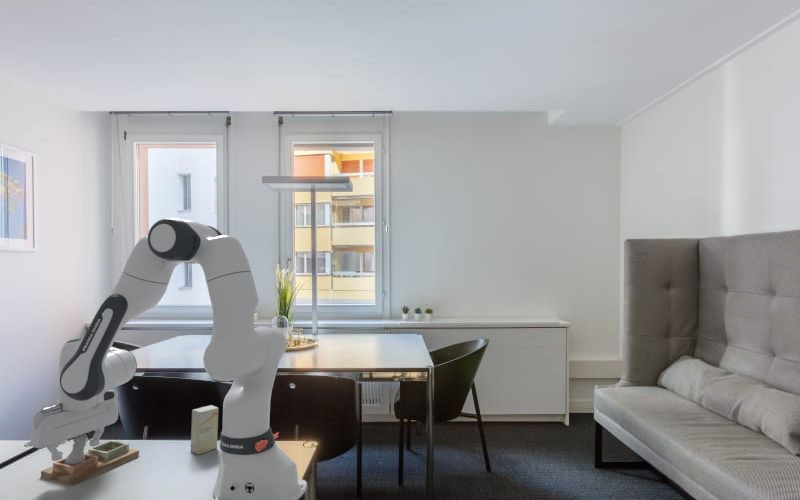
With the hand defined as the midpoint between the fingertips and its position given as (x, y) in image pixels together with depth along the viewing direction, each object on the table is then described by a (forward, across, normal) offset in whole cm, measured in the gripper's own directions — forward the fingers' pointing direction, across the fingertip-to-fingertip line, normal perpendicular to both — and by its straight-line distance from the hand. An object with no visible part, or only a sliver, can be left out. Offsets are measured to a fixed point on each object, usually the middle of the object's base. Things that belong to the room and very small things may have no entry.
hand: (76, 452), depth 113 cm
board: (+5, +4, 0) cm, 7 cm away
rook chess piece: (+3, 0, +1) cm, 3 cm away
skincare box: (+6, +24, -20) cm, 31 cm away
